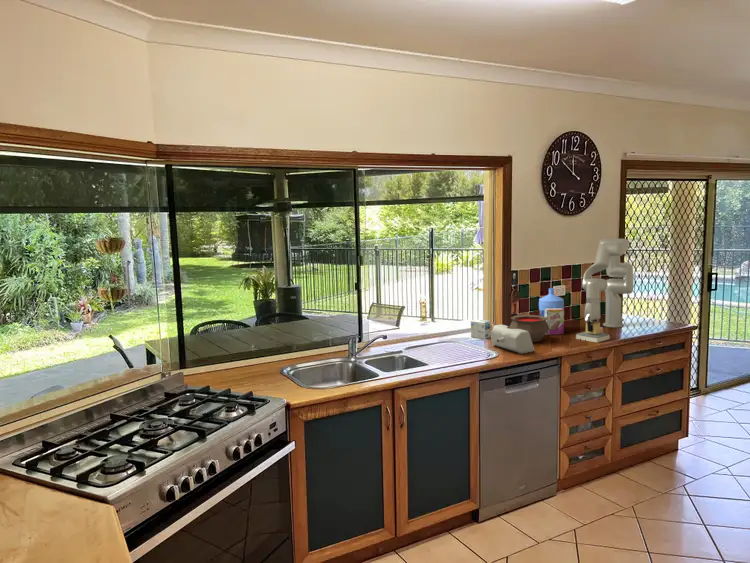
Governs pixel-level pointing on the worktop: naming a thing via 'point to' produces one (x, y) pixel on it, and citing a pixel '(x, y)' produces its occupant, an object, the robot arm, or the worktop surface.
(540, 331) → the brown pot
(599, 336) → the podium
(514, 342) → the tank
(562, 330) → the candy bar box
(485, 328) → the light bulb box
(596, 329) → the carton
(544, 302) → the water jug
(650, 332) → the worktop surface
